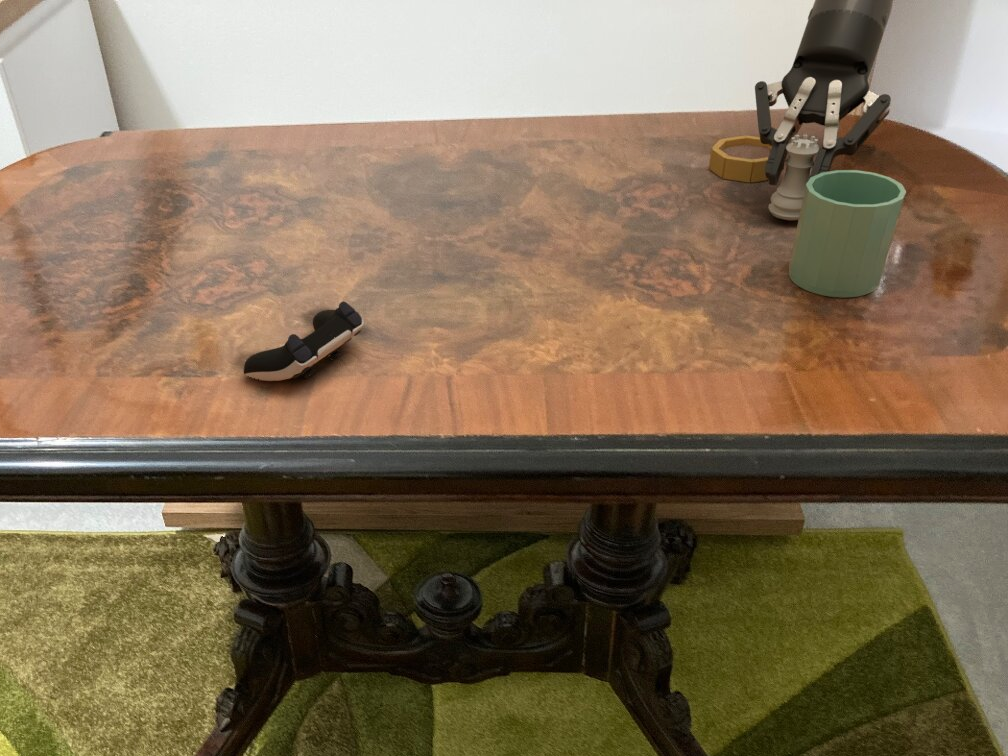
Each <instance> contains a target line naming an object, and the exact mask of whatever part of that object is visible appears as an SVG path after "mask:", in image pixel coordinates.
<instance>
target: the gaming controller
mask: <svg viewBox="0 0 1008 756" xmlns="http://www.w3.org/2000/svg"><path fill="white" fill-rule="evenodd" d="M312 327H313V330H314V331H313V332H311V333H310V334H308V335H306V336H305V337H304V338H300V336H299V335H297V334H296V333H292V334H290V335H289V336H288V337H287V338H288V339H287V340H286V342H285V343H284V345H282V346H279V347H276V348H271V349H266V350H263V351H262V350H261V351H259V352H257V353H254V354H251V355H250V356H249V357H248V358H246V360H245V362H244V365H243V375H244V376H245V375H246V376H245V377H248V376H249V377H248V378H250V377H252V378H251V379H254V378H255V379H254V380H258V379H259V380H258V381H265V382H266V381H267V382H275V381H277V382H278V381H284V380H289V379H292V378H293V379H296V378H298V377H299V376H303V377H304V378H305V377H307V378H309V377H310V376H312V375H313V374H315V372H317V368H316V367H315V366H316V363H318V362H319V361H320V360H322V359H323V358H329V357H330V356H331V357H330V358H331V359H330V360H332V359H333V360H335V359H336V358H338V357H339V356H340V355H341V354H342V350H340V349H341V347H342V345H344V344H347V343H348V342H350V340H352V339H353V337H356V336H358V335H359V334H360V333H361V331H362V329H363V328H364V320H363V318H362V316H361V314H360V313H359V312H358V311H356V309H355V308H354V307H353V306H351V305H350V304H349V303H348V302H346V301H341V302H339V304H338V307H337V308H335V309H324V310H321V311H319V312H317V313H316V314H315V315H314V316H313V317H312ZM334 337H335V338H334ZM338 350H339V351H338ZM339 354H340V355H339ZM329 355H330V356H329ZM338 355H339V356H338ZM328 356H329V357H328ZM335 357H336V358H335ZM334 358H335V359H334ZM313 367H315V368H313ZM312 368H313V369H312ZM303 373H304V374H305V375H304V374H303ZM312 373H313V374H312ZM302 374H303V375H302ZM309 375H310V376H309ZM308 376H309V377H308Z"/></svg>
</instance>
